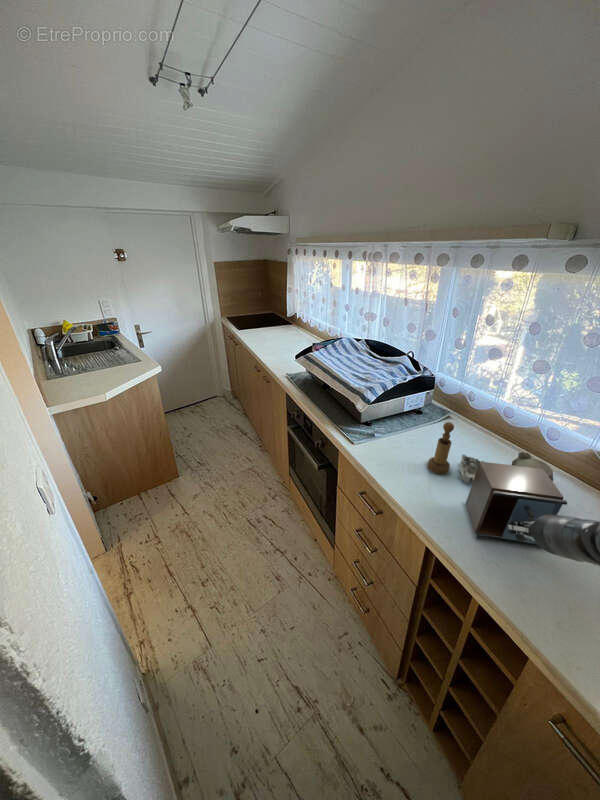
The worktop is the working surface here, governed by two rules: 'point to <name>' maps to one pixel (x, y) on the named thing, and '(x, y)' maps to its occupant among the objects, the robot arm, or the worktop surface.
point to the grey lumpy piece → (468, 468)
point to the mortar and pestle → (442, 452)
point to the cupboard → (506, 497)
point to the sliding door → (527, 516)
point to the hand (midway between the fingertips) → (519, 527)
